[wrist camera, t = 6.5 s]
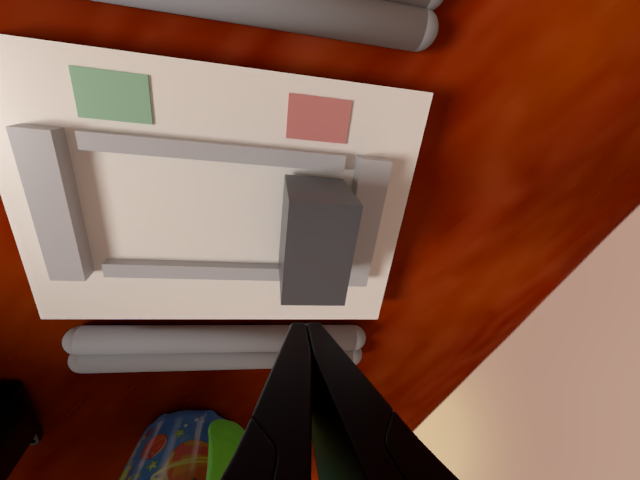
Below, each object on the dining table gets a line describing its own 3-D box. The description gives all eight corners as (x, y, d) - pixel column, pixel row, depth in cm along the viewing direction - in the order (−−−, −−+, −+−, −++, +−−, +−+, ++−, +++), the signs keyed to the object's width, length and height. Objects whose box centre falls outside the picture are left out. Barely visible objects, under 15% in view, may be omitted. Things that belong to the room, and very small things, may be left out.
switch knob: (278, 261, 18) (280, 305, 15) (284, 174, 16) (289, 201, 12) (330, 262, 19) (344, 305, 15) (343, 179, 17) (363, 206, 13)
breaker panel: (60, 297, 20) (29, 331, 17) (-13, 33, 14) (-80, 22, 11) (369, 301, 23) (382, 329, 21) (416, 91, 17) (443, 93, 15)
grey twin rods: (79, 358, 22) (65, 380, 21) (-55, -130, 12) (-106, -163, 10) (356, 353, 26) (362, 371, 24) (441, -27, 15) (461, -39, 14)
